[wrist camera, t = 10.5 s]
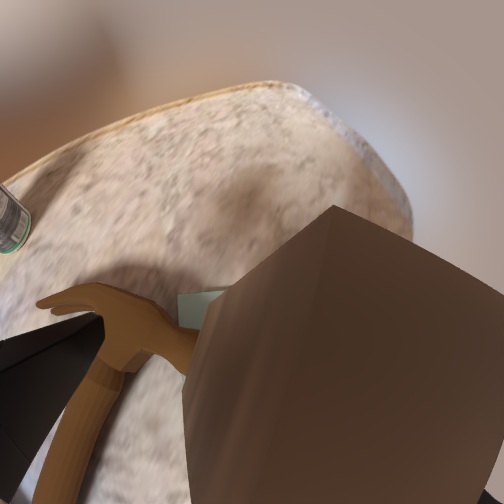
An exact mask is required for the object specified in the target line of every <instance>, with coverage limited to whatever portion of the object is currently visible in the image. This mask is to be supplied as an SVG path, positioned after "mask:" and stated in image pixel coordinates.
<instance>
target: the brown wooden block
mask: <svg viewBox="0 0 504 504" xmlns="http://www.w3.org/2000/svg"><path fill="white" fill-rule="evenodd" d="M182 403H183V421H184V436H185V448H186V460H187V470H188V479H189V488H190V496H191V504H477V502H478V500H479V498H480V496H481V494H482V492H483V490H484V488H485V486H486V484H487V481H488V479H489V477H490V474H491V472H492V469H493V467H494V465H495V462H496V459H497V457H498V454H499V451H500V449H501V446H502V443H503V440H504V295H502V294H501V293H499V292H498V291H496V290H494V289H493V288H491V287H490V286H488V285H487V284H485V283H483V282H482V281H480V280H478V279H477V278H475V277H473V276H472V275H470V274H468V273H466V272H465V271H463V270H461V269H460V268H458V267H456V266H454V265H453V264H451V263H449V262H447V261H445V260H444V259H442V258H440V257H438V256H436V255H434V254H433V253H431V252H429V251H427V250H425V249H423V248H421V247H419V246H417V245H416V244H414V243H412V242H410V241H408V240H406V239H404V238H402V237H400V236H398V235H396V234H394V233H392V232H390V231H388V230H386V229H384V228H382V227H380V226H378V225H376V224H374V223H372V222H370V221H368V220H366V219H363V218H361V217H359V216H357V215H355V214H353V213H351V212H348V211H346V210H344V209H342V208H340V207H337V206H335V205H332V206H331V207H330V208H329V209H327V210H326V211H325V212H324V213H322V214H321V215H320V216H319V217H317V218H316V219H315V220H314V221H313V222H311V223H310V224H309V225H308V226H306V227H305V228H304V229H303V230H301V231H300V232H299V233H298V234H296V235H295V236H294V237H293V238H291V239H290V240H289V241H288V242H286V243H285V244H284V245H283V246H281V247H280V248H279V249H278V250H276V251H275V252H274V253H273V254H271V255H270V256H269V257H268V258H266V259H265V260H264V261H263V262H261V263H260V264H259V265H258V266H256V267H255V268H254V269H253V270H251V271H250V272H249V273H248V274H246V275H245V276H244V277H242V278H241V279H240V280H239V281H237V282H236V283H235V284H234V285H232V286H231V287H230V288H229V289H227V290H226V291H225V292H223V293H222V294H221V295H220V296H218V297H217V298H216V299H215V300H213V301H212V302H211V303H209V304H208V307H207V310H206V314H205V317H204V320H203V323H202V326H201V330H200V333H199V336H198V339H197V343H196V346H195V349H194V352H193V356H192V359H191V362H190V366H189V369H188V372H187V376H186V379H185V382H184V386H183V389H182Z"/></svg>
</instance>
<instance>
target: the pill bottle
mask: <svg viewBox="0 0 504 504" xmlns="http://www.w3.org/2000/svg"><path fill="white" fill-rule="evenodd" d="M30 227H31V216H30V213H29V211H28V210H27V209H26V208H25V207H24V206H23V205H22V204H21V203H20V202H19V201H18V200H17V199H16V198H15V197H14V196H13V195H12V194H11V193H10V192H9V191H8V190H7V189H6V188H5V187H4V186H3V185H2V184H1V183H0V253H2V254H5V255H8V254H12V253H14V252H16V251H17V250H18V249H19V248H20V247H21V246H22V245H23V244H24V242H25V240H26V238H27V236H28V234H29V231H30Z"/></svg>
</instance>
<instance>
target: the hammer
mask: <svg viewBox="0 0 504 504" xmlns="http://www.w3.org/2000/svg"><path fill="white" fill-rule="evenodd" d="M36 307H38V308H40V309H48V308H53V307H55V308H53V309H51V314H54V315H56V316H60V315H65V314H69V313H74V312H81V311H95V313H97V314H100V315H102V316H103V319H104V327H105V340H104V342H103V344H102V346H101V348H100V350H99V352H98V354H97V355H96V357H95V359H94V361H93V363H92V365H91V367H90V369H89V371H88V372H87V374H86V376H85V377H84V379H83V381H82V382H81V384H80V385H79V387H78V388H77V390H76V391H75V393H74V394H73V396H72V397H71V399H70V400H69V402H68V403H67V405H66V408H65V411H64V414H63V416H62V418H61V421H60V423H59V425H58V428H57V430H56V433H55V435H54V438H53V440H52V443H51V445H50V448H49V451H48V453H47V456H46V459H45V462H44V464H43V467H42V470H41V473H40V476H39V479H38V482H37V485H36V488H35V492H34V495H33V499H32V504H76V501H77V498H78V494H79V491H80V488H81V484H82V481H83V478H84V475H85V472H86V469H87V466H88V463H89V460H90V457H91V454H92V451H93V448H94V445H95V442H96V440H97V437H98V434H99V431H100V429H101V427H102V425H103V423H104V421H105V419H106V417H107V415H108V413H109V412H110V410H111V408H112V406H113V404H114V402H115V401H116V399H117V397H118V396H119V394H120V392H121V390H122V386H123V381H124V377H125V372H131V373H136V372H137V371H138V369H139V368H140V367H141V366H142V365H143V364H144V363H145V362H146V361H147V360H148V358H149V357H150V356H151V355H153V354H157V355H160V356H162V357H164V358H165V359H167V360H168V361H169V362H170V363H171V364H172V365H173V366H174V367H175V368H176V369H177V370H178V371H179V372H180V373H181V374H183V375H184V376H187V372H188V369H189V366H190V362H191V359H192V356H193V352H194V349H195V346H196V343H197V339H198V336H199V333H200V330H199V329H192V328H183V327H179V326H178V325H176V324H175V323H174V322H173V321H172V319H171V318H170V316H169V315H168V314H167V313H166V312H165V310H164V309H163V308H161V307H160V306H159V305H157V304H156V303H155V302H154V301H151V300H148V299H146V298H143V297H140V296H138V295H135V294H132V293H130V292H127V291H125V290H122V289H119V288H115V287H112V286H109V285H106V284H102V283H88V284H82V285H77V286H74V287H71V288H68V289H66V290H64V291H61V292H59V293H56V294H54V295H51V296H49V297H46V298H44V299H42V300H40V301H37V302H36Z"/></svg>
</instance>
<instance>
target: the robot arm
mask: <svg viewBox="0 0 504 504" xmlns="http://www.w3.org/2000/svg"><path fill="white" fill-rule="evenodd" d="M104 340H105V327H104V319H103V316H102V315H100V314H97V313H95V312H89V313H86V314H83V315H80V316H77V317H74V318H70V319H67V320H64V321H61V322H58V323H55V324H52V325H49V326H46V327H42V328H39V329H36V330H33V331H30V332H27V333H24V334H21V335H17V336H14V337H11V338H8V339H5V341H4V340H1V341H0V499H1V500H2V501H4V502H5V503H7V504H10V502H11V501H12V499H13V497H14V495H15V493H16V491H17V489H18V487H19V485H20V483H21V481H22V480H23V478H24V476H25V474H26V472H27V470H28V469H29V467H30V465H31V463H32V461H33V459H34V458H35V456H36V454H37V452H38V451H39V449H40V447H41V446H42V444H43V442H44V440H45V439H46V437H47V435H48V434H49V432H50V431H51V429H52V427H53V426H54V424H55V422H56V421H57V419H58V418H59V416H60V414H61V413H62V411H63V410H64V408H65V407H66V405H67V403H68V402H69V400H70V399H71V397H72V396H73V394H74V393H75V391H76V390H77V388H78V387H79V385H80V384H81V382H82V381H83V379H84V377H85V376H86V374H87V372H88V371H89V369H90V367H91V365H92V363H93V361H94V359H95V357H96V355H97V354H98V352H99V350H100V348H101V346H102V344H103V342H104ZM477 504H502V503H500V502H498V501H497V500H496V499H494V498H493V497H492V496H491V495H490V494H489V493H488V492H487V491H486V490H485V489H484V490H483V492H482V494H481V496H480V498H479V500H478V502H477Z"/></svg>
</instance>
